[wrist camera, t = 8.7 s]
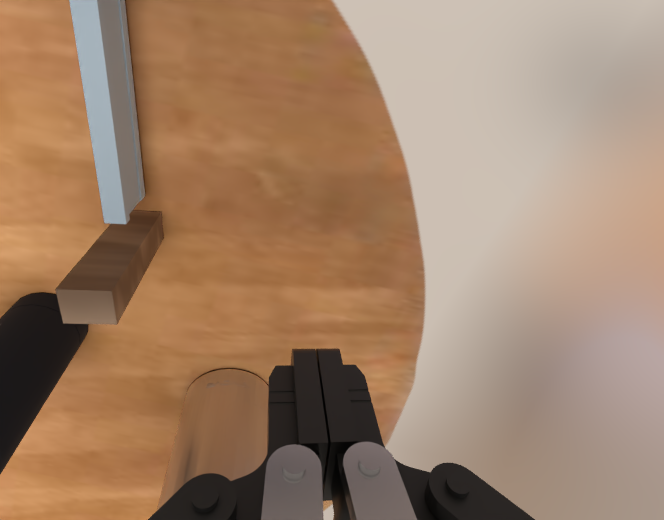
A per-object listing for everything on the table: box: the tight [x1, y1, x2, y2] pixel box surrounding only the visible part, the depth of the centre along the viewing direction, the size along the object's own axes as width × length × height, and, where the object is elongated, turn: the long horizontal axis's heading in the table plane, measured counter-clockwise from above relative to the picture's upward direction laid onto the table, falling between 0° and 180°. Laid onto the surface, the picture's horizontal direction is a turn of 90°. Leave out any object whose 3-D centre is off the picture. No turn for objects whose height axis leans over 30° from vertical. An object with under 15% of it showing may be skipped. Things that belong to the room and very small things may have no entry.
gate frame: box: [55, 210, 164, 325], centre depth 25 cm, size 21×3×13 cm, turn 173°
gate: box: [69, 0, 145, 224], centre depth 28 cm, size 14×1×6 cm, turn 174°
